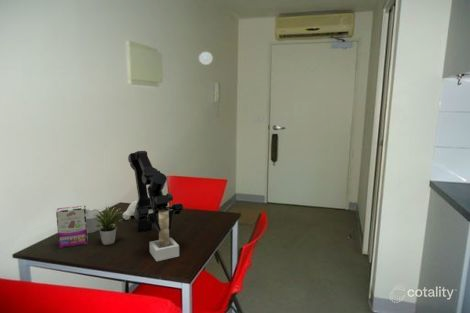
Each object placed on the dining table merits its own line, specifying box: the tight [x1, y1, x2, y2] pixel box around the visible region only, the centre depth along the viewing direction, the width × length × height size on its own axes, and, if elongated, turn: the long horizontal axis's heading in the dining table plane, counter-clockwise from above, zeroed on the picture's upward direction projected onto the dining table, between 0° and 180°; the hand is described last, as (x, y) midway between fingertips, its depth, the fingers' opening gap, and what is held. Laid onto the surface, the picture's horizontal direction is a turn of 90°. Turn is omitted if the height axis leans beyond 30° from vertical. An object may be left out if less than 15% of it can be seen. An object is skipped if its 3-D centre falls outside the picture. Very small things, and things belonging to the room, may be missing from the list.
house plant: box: [92, 206, 124, 246], centre depth 139 cm, size 14×14×16 cm
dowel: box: [158, 210, 170, 246], centre depth 129 cm, size 4×4×14 cm
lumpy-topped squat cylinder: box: [86, 208, 105, 234], centre depth 157 cm, size 10×13×9 cm
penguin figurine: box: [122, 200, 138, 221], centre depth 173 cm, size 6×8×12 cm
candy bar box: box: [55, 205, 88, 249], centre depth 137 cm, size 11×5×16 cm, turn 114°
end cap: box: [149, 237, 180, 262], centre depth 130 cm, size 9×9×4 cm
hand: (164, 230), depth 128 cm, fingers closed on dowel, 4 cm apart
